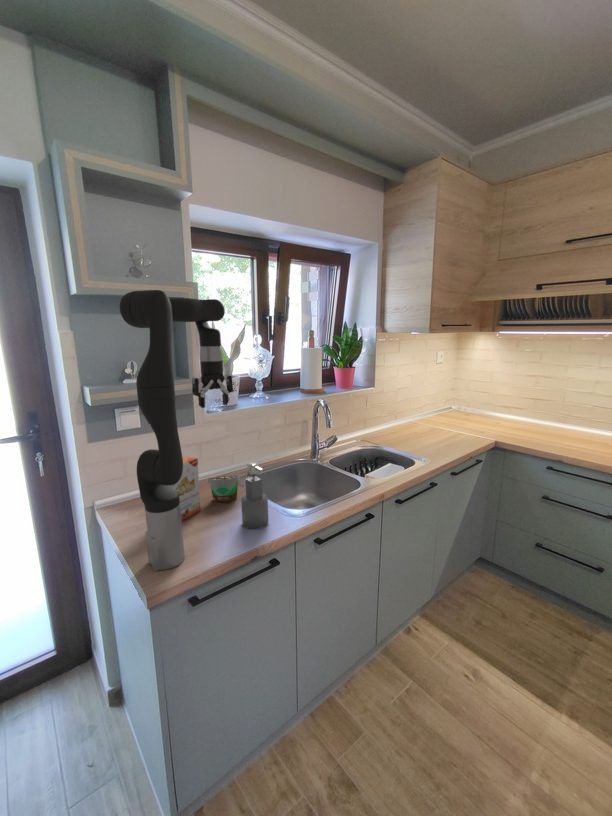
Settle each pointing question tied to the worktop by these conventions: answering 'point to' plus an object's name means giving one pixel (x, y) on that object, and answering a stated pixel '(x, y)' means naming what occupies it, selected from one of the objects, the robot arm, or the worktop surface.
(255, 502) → the soap bottle
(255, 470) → the pump head
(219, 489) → the food container
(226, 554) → the worktop surface
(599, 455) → the worktop surface
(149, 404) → the robot arm
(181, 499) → the cracker box
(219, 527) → the worktop surface
